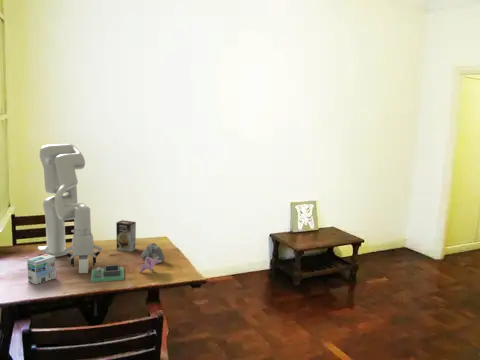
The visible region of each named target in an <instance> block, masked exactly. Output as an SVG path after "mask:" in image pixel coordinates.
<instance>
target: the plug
mask: <svg viewBox="0 0 480 360" xmlns="http://www.w3.org/2000/svg"><path fill="white" fill-rule="evenodd" d="M88 273H89V255H82V256H78V274H88Z"/></svg>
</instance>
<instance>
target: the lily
mask: <svg viewBox="0 0 480 360" xmlns="http://www.w3.org/2000/svg"><path fill="white" fill-rule="evenodd" d="M158 258H159V256H158V257H156V258H155V259H152V258H150V257H146V259H144V264H143V263H142V264H141V265H139V266H138V268H139V269H140V270H139V273H142V272H144V271H145V270H148V271H149V270H150V271H152V273H153V275H154V277H155V276H156V275H155V272H154V267H155V265H158V264H160V263H159V262H161V260H157V259H158ZM157 263H158V264H157Z"/></svg>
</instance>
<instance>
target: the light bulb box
mask: <svg viewBox="0 0 480 360" xmlns="http://www.w3.org/2000/svg"><path fill="white" fill-rule="evenodd" d="M56 269H57V268H56V257H55V256H52V255H49V254H44V253H43V254H42V255H38V256H35V257H31V258H28V259H27V281H28V282H29V281H30V282H29V283H31V282H33V283H32V284H34V283H35V284H34V285H36V284H37V285H39V284H38V283H40V284H42V283H41V282H43V283H46V282H49V281H52V280H54V279H57V278H56V276H57V274H56V271H57V270H56ZM51 279H52V280H51ZM48 280H49V281H48ZM45 281H46V282H45Z"/></svg>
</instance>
